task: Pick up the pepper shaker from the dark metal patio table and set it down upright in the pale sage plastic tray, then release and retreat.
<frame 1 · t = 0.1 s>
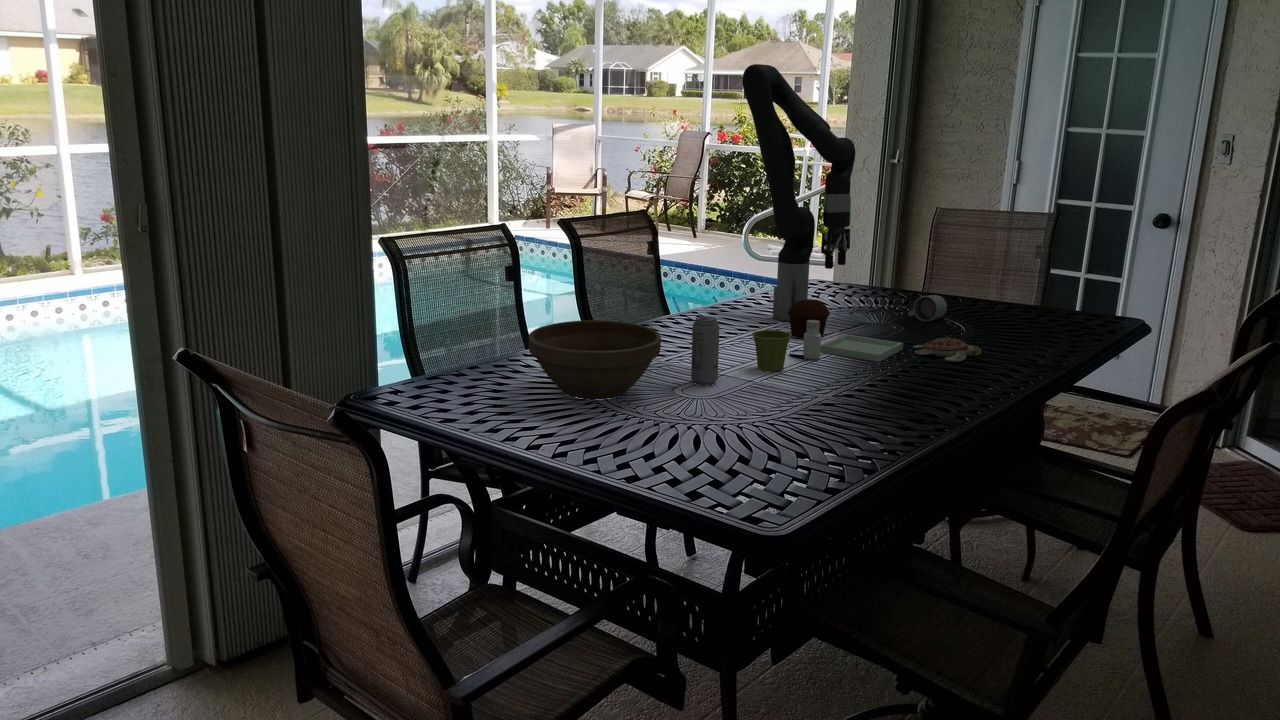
hand: (835, 266, 270), 17 cm above the table, tool pointing down, fingers open, 8 cm apart
muffin: (807, 336, 261), on the table
pepper shaker: (811, 358, 237), on the table
tray: (861, 350, 244), on the table
decorative turtle: (946, 357, 241), on the table
ceramic mug: (925, 319, 284), on the table
energy drink can: (704, 383, 214), on the table
plant pot: (770, 370, 226), on the table
flower pot: (595, 393, 206), on the table
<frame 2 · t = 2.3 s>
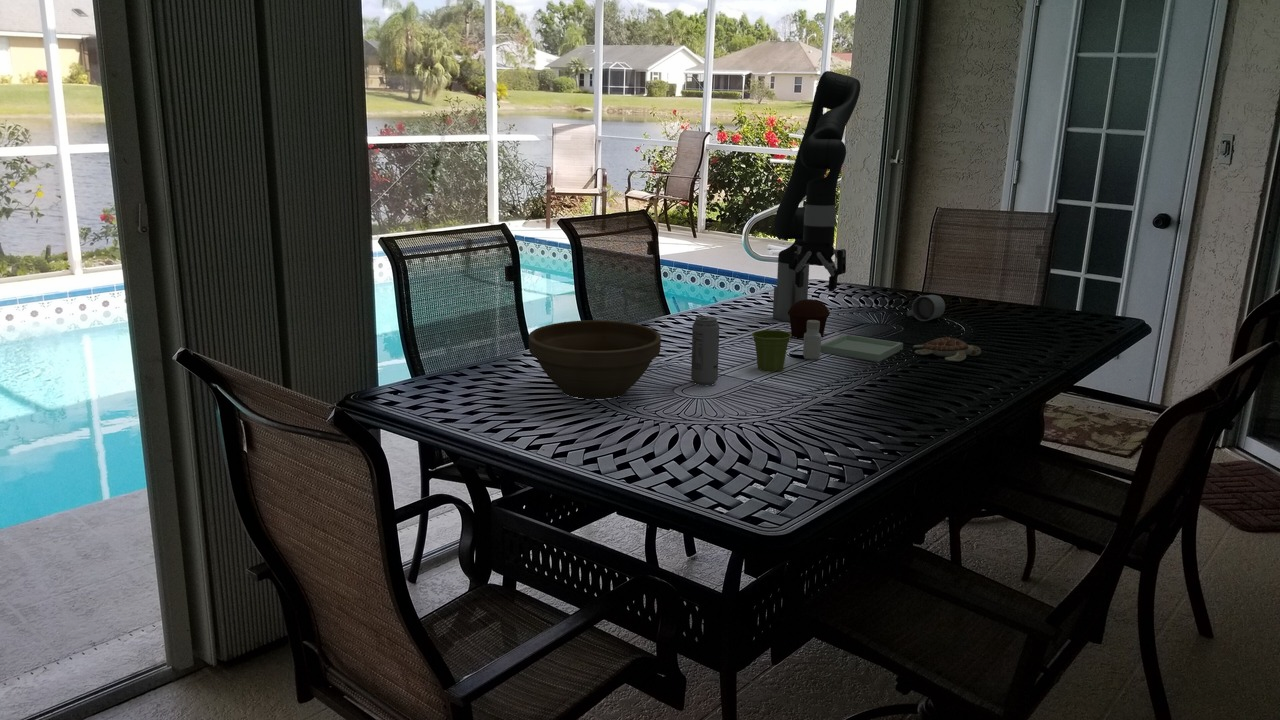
hand: (815, 289, 232), 18 cm above the table, tool pointing down, fingers open, 8 cm apart
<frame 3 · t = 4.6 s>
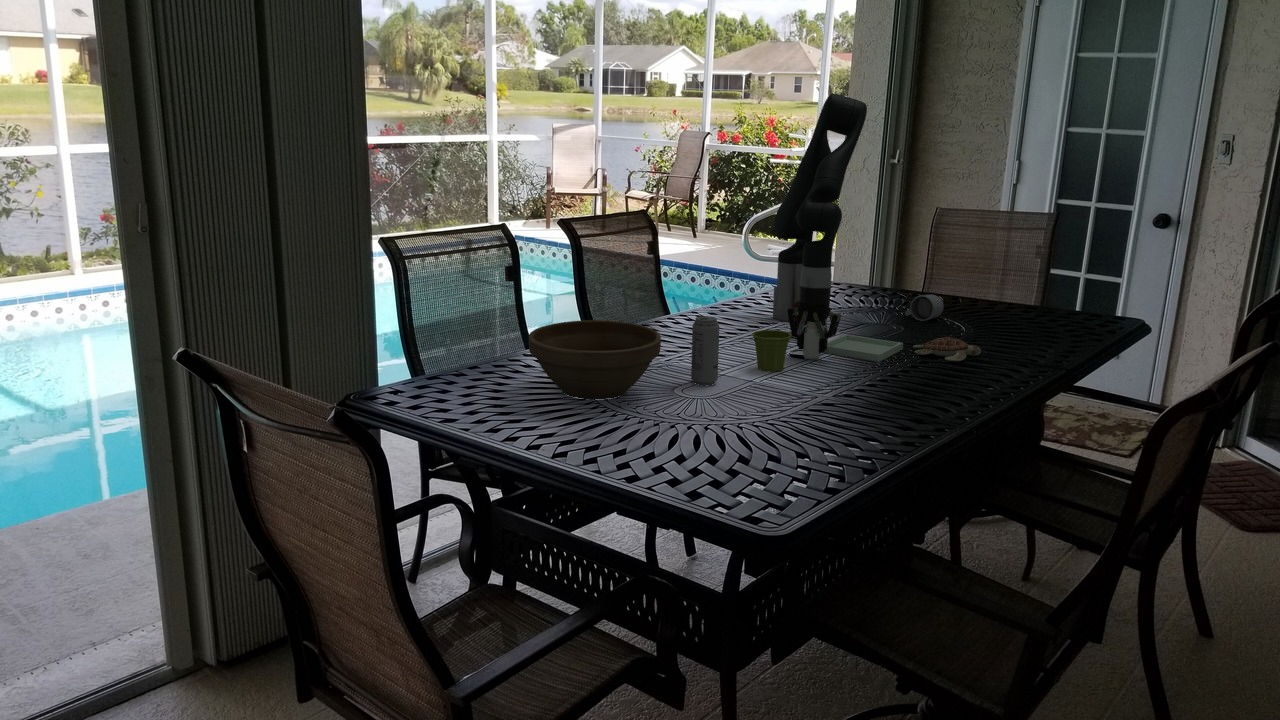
hand: (811, 350, 236), 2 cm above the table, tool pointing down, fingers closed on pepper shaker, 5 cm apart
pepper shaker: (811, 358, 237), on the table, touching gripper
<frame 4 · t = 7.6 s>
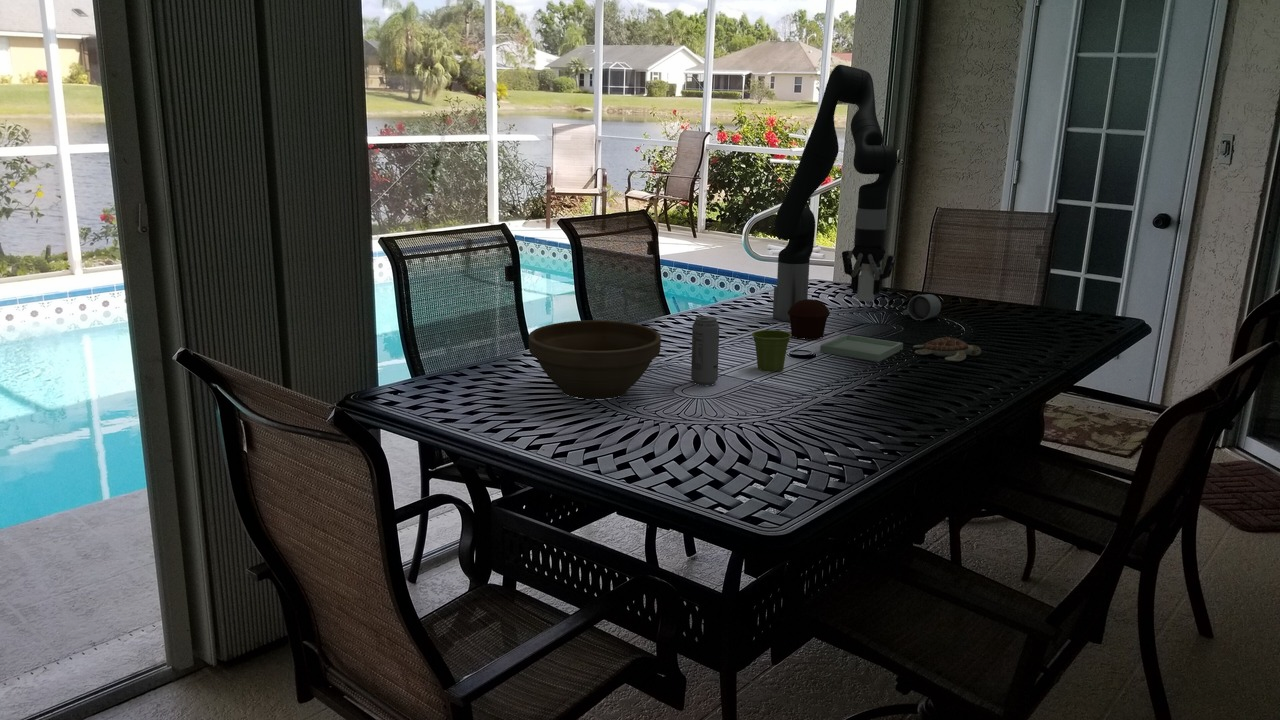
hand: (865, 292, 240), 15 cm above the table, tool pointing down, fingers closed on pepper shaker, 5 cm apart
pepper shaker: (865, 300, 241), point 13 cm above the table, touching gripper
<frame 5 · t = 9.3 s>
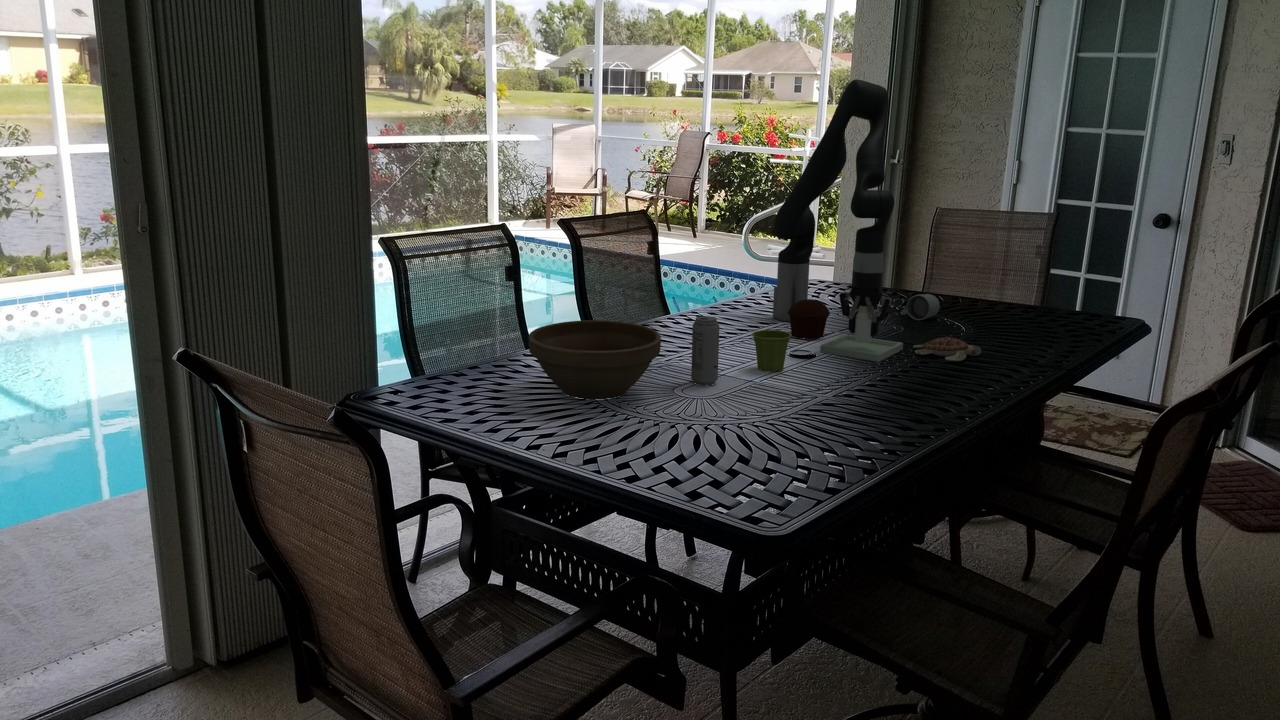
hand: (863, 334, 243), 4 cm above the table, tool pointing down, fingers closed on pepper shaker, 5 cm apart
pepper shaker: (862, 342, 244), point 2 cm above the table, touching gripper
when the fingers open (4 cm above the table, at t = 10.4 s): pepper shaker drops 1 cm, resting on tray.
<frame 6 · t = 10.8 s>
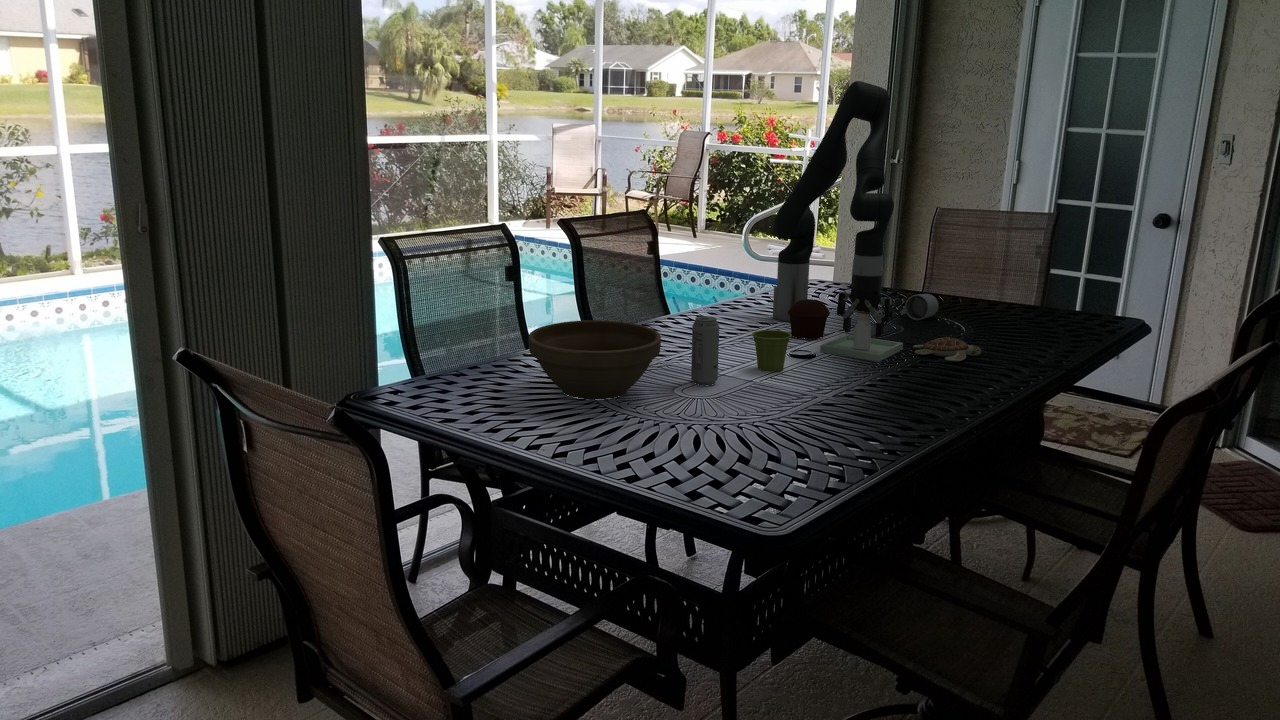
hand: (862, 334, 243), 4 cm above the table, tool pointing down, fingers open, 8 cm apart
pepper shaker: (861, 349, 244), resting on tray
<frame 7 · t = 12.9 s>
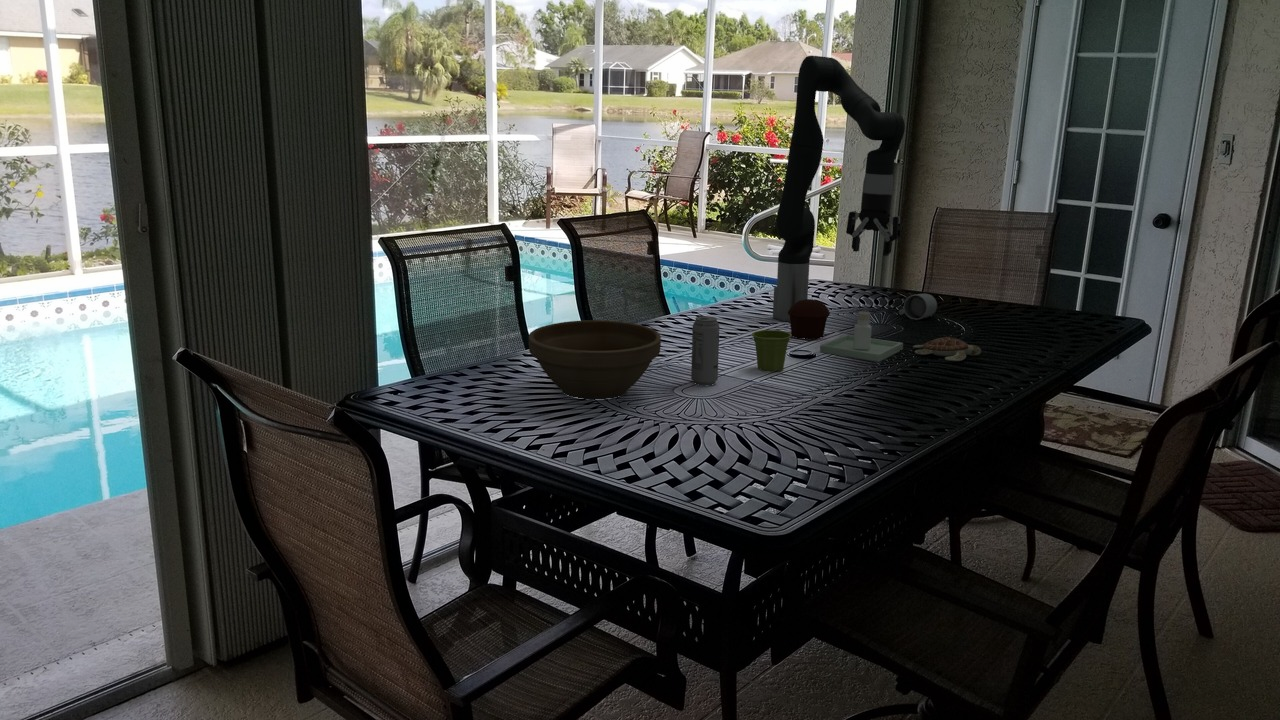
hand: (870, 253, 248), 24 cm above the table, tool pointing down, fingers open, 8 cm apart
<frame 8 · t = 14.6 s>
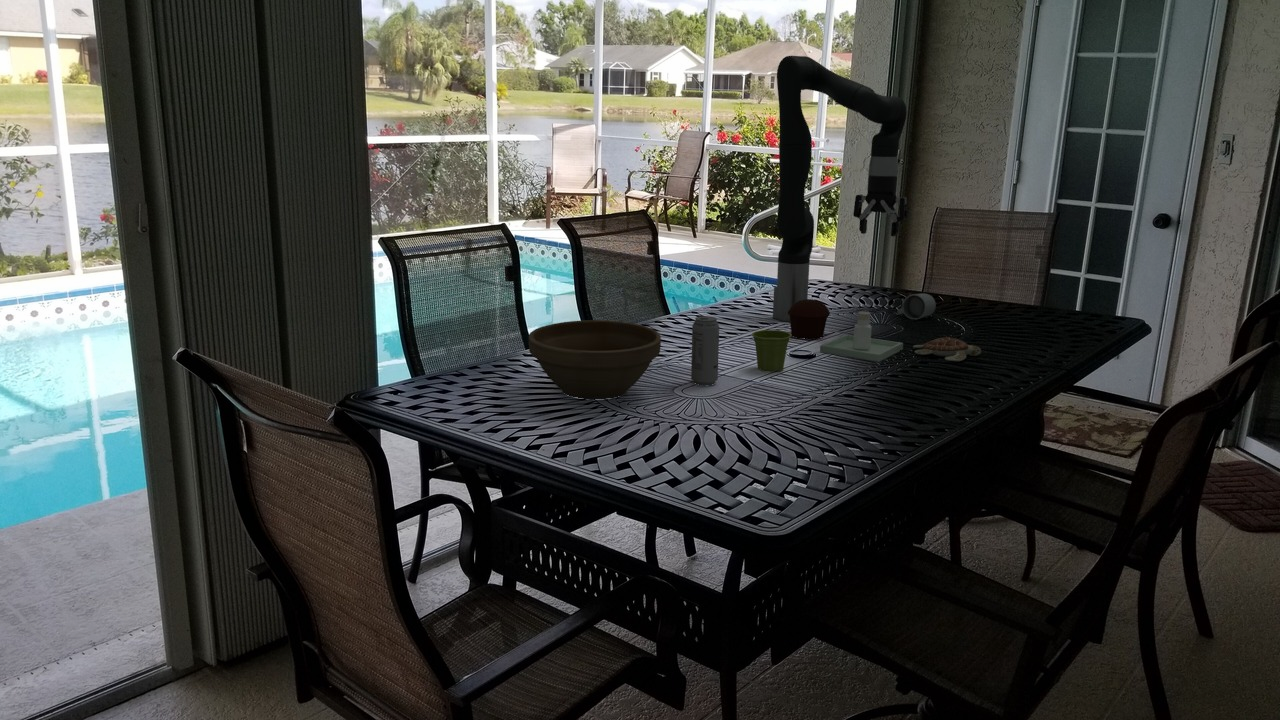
hand: (878, 234, 254), 28 cm above the table, tool pointing down, fingers open, 8 cm apart
at the end: pepper shaker inside the target area on the tray (0.1 cm from its centre), point 0.4 cm above the tray's base; pepper shaker tilted 0°; the gripper is holding nothing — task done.
